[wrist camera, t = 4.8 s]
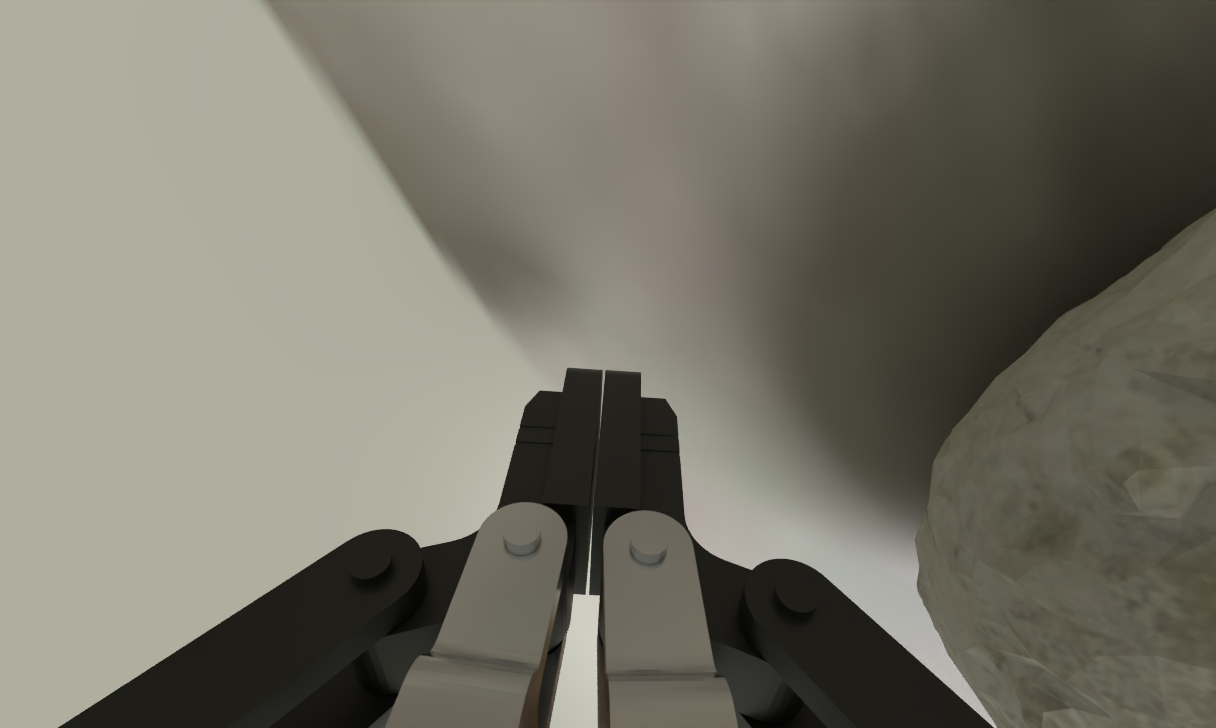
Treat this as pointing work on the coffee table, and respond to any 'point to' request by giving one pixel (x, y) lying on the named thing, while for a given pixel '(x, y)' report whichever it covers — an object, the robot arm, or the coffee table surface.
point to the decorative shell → (1089, 512)
